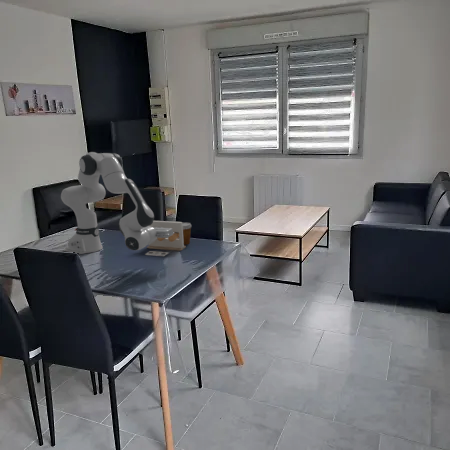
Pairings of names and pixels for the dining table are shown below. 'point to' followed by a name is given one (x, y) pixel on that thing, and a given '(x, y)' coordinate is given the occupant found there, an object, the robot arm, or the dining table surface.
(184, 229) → the disposable coffee cup
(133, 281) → the dining table surface
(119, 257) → the dining table surface
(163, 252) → the card
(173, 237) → the button right
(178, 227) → the panel
